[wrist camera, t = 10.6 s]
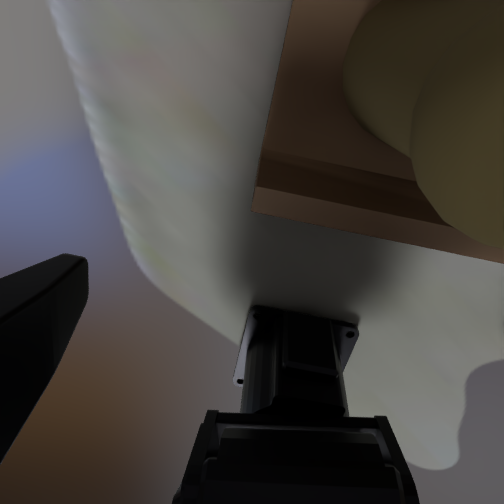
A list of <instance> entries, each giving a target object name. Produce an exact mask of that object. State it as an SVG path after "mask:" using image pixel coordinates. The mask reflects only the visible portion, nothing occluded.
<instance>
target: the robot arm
mask: <svg viewBox="0 0 504 504" xmlns="http://www.w3.org/2000/svg"><path fill="white" fill-rule="evenodd" d="M88 285H89V283H88V262H87V259H86V258H85V257H82V256H77V255H72V254H66V253H65V254H61V255H59V256H56V257H53V258H51V259H48V260H46V261H43V262H41V263H38V264H35V265H33V266H30V267H28V268H26V269H23V270H20V271H18V272H15V273H13V274H10V275H8V276H5V277H3V278H0V464H1V462H2V461H3V459H4V457H5V456H6V454H7V452H8V451H9V449H10V447H11V446H12V444H13V442H14V441H15V439H16V437H17V436H18V434H19V432H20V431H21V429H22V427H23V426H24V424H25V422H26V421H27V419H28V417H29V416H30V414H31V412H32V411H33V409H34V407H35V406H36V404H37V402H38V401H39V399H40V397H41V396H42V394H43V392H44V391H45V389H46V387H47V386H48V384H49V382H50V380H51V379H52V377H53V375H54V373H55V371H56V369H57V367H58V365H59V363H60V361H61V359H62V356H63V354H64V352H65V350H66V348H67V345H68V343H69V341H70V338H71V337H72V334H73V332H74V330H75V327H76V325H77V323H78V321H79V319H80V317H81V314H82V312H83V310H84V308H85V305H86V303H87V299H88V293H89V292H88V291H89V286H88ZM255 313H260V314H261V315H255ZM349 331H352V333H347V332H349ZM358 337H359V331H358V328H357V326H356V325H354V324H351V323H346V322H341V321H336V320H331V319H327V318H322V317H317V316H312V315H306V314H301V313H296V312H291V311H286V310H281V309H276V308H270V307H265V306H260V305H255V306H253V307H251V308H250V310H249V314H248V318H247V322H246V327H245V331H244V335H243V339H242V343H241V347H240V351H239V355H238V359H237V363H236V367H235V371H234V375H233V383H234V384H235V385H236V386H239V387H243V390H242V399H241V408H240V413H227V412H219V411H218V410H207V413H206V416H205V420H204V423H201V425H200V428H199V431H198V434H197V437H196V440H195V443H194V446H193V449H192V452H191V456H190V459H189V461H188V464H187V468H186V471H185V474H184V477H183V480H182V482H181V484H180V486H179V488H178V490H177V491H176V494H175V495H174V497H173V501H172V504H420V503H419V498H418V494H417V490H416V486H415V483H414V480H413V478H412V475H411V473H410V470H409V468H408V465H407V463H406V461H405V458H404V456H403V454H402V451H401V449H400V447H399V444H398V442H397V440H396V437H395V435H394V433H393V430H392V428H391V426H390V423H389V421H388V419H387V417H386V416H374V418H372V417H349V410H348V404H347V398H346V391H345V385H344V379H343V371H344V369H345V366H346V364H347V362H348V359H349V357H350V355H351V353H352V350H353V348H354V346H355V343H356V341H357V339H358Z"/></svg>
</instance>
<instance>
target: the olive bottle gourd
mask: <svg viewBox="0 0 504 504" xmlns="http://www.w3.org/2000/svg"><path fill="white" fill-rule="evenodd" d="M343 92H344V95H345V99H346V102H347V105H348V108H349V111H350V113H351V114H352V115H353V117H354V118H355V119H356V121H357V122H358V123H359V125H360V126H361V127H362V129H364V130H365V131H367V132H368V133H370V134H372V135H373V136H375V137H376V138H378V139H379V140H381V141H382V142H384V143H386V144H387V145H389V146H391V147H392V148H394V149H396V150H397V151H399V152H401V153H402V154H404V155H406V156H407V157H409V158H411V161H412V165H413V169H414V173H415V177H416V181H417V184H418V186H419V188H420V189H421V191H422V192H423V194H424V195H425V196H426V198H427V199H428V201H429V202H430V203H431V205H432V206H433V207H434V209H435V210H436V211H437V213H438V214H439V216H440V217H441V218H442V220H443V221H445V222H446V223H448V224H449V225H451V226H453V227H454V228H456V229H457V230H459V231H461V232H462V233H464V234H465V235H467V236H469V237H470V238H472V239H474V240H476V241H478V242H480V243H482V244H484V245H488V246H492V247H497V248H501V249H504V0H381V1H380V2H379V3H378V4H377V5H376V6H375V7H374V8H372V9H371V10H370V11H369V12H368V13H367V14H366V15H365V17H364V18H363V20H362V22H361V23H360V25H359V26H358V28H357V29H356V31H355V33H354V34H353V36H352V37H351V39H350V43H349V46H348V49H347V52H346V56H345V59H344V62H343Z"/></svg>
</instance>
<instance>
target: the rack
mask: <svg viewBox="0 0 504 504" xmlns="http://www.w3.org/2000/svg"><path fill="white" fill-rule="evenodd" d="M380 1H381V0H293V2H292V7H291V12H290V17H289V21H288V26H287V31H286V36H285V40H284V45H283V50H282V55H281V59H280V64H279V69H278V73H277V78H276V83H275V88H274V92H273V97H272V102H271V107H270V111H269V116H268V121H267V126H266V130H265V135H264V140H263V145H262V149H261V154H260V159H259V164H258V170H257V176H256V182H255V188H254V195H253V201H252V207H251V211H252V212H256V213H261V214H266V215H271V216H276V217H281V218H285V219H290V220H295V221H300V222H305V223H310V224H314V225H319V226H324V227H329V228H334V229H339V230H343V231H348V232H353V233H358V234H363V235H368V236H372V237H377V238H382V239H387V240H392V241H397V242H401V243H406V244H411V245H416V246H421V247H426V248H430V249H435V250H440V251H445V252H450V253H455V254H459V255H464V256H469V257H474V258H479V259H484V260H488V261H493V262H498V263H503V264H504V249H501V248H497V247H492V246H488V245H484V244H482V243H480V242H478V241H476V240H474V239H472V238H470V237H469V236H467V235H465V234H464V233H462V232H461V231H459V230H457V229H456V228H454V227H453V226H451V225H449V224H448V223H446V222H445V221H443V220H442V218H441V217H440V216H439V214H438V213H437V211H436V210H435V209H434V207H433V206H432V205H431V203H430V202H429V201H428V199H427V198H426V196H425V195H424V194H423V192H422V191H421V189H420V188H419V186H418V184H417V181H416V177H415V173H414V169H413V165H412V161H411V158H409V157H407V156H406V155H404V154H402V153H401V152H399V151H397V150H396V149H394V148H392V147H391V146H389V145H387V144H386V143H384V142H382V141H381V140H379V139H378V138H376V137H375V136H373V135H372V134H370V133H368V132H367V131H365V130H364V129H362V127H361V126H360V125H359V123H358V122H357V121H356V119H355V118H354V117H353V115H352V114H351V113H350V111H349V108H348V105H347V102H346V99H345V95H344V92H343V62H344V59H345V56H346V52H347V49H348V46H349V43H350V39H351V37H352V36H353V34H354V33H355V31H356V29H357V28H358V26H359V25H360V23H361V22H362V20H363V18H364V17H365V15H366V14H367V13H368V12H369V11H370V10H371V9H372V8H374V7H375V6H376V5H377V4H378V3H379V2H380Z"/></svg>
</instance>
